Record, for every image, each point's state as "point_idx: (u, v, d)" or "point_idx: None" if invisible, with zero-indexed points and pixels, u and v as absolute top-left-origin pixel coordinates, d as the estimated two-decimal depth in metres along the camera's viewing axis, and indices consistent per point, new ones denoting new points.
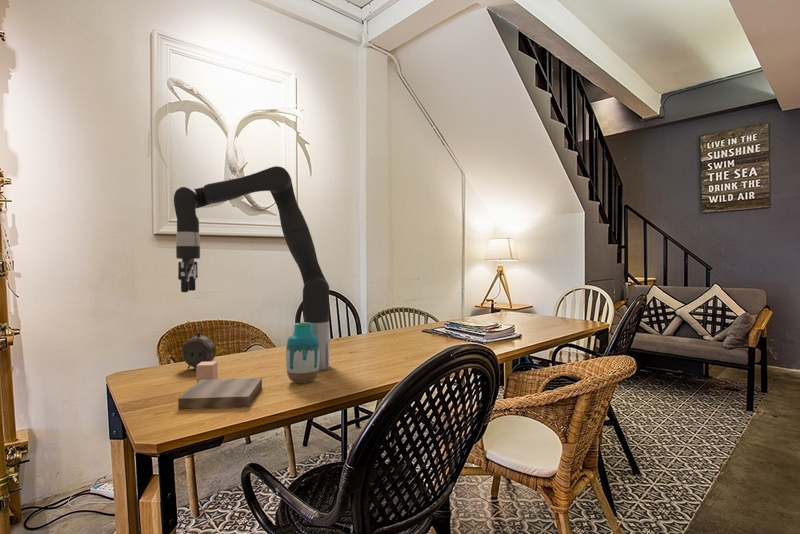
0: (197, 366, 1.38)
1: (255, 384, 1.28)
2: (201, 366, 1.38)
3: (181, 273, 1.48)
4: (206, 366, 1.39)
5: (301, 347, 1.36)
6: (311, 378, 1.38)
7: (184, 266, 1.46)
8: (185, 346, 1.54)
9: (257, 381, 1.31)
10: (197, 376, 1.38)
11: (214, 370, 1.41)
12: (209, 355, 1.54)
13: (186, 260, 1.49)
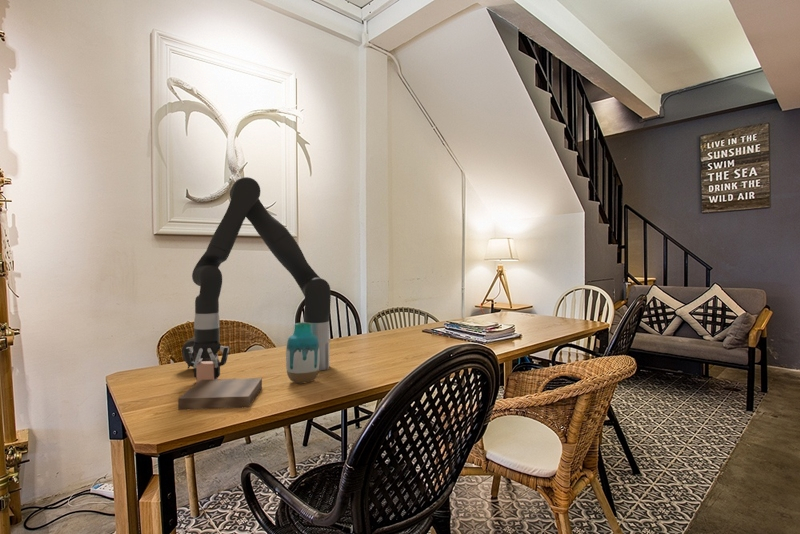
0: (197, 366, 1.38)
1: (255, 384, 1.28)
2: (201, 366, 1.38)
3: (215, 359, 1.40)
4: (206, 366, 1.39)
5: (301, 347, 1.36)
6: (311, 378, 1.38)
7: (228, 351, 1.42)
8: (185, 346, 1.54)
9: (257, 381, 1.31)
10: (197, 376, 1.38)
11: None
12: None
13: (219, 342, 1.42)
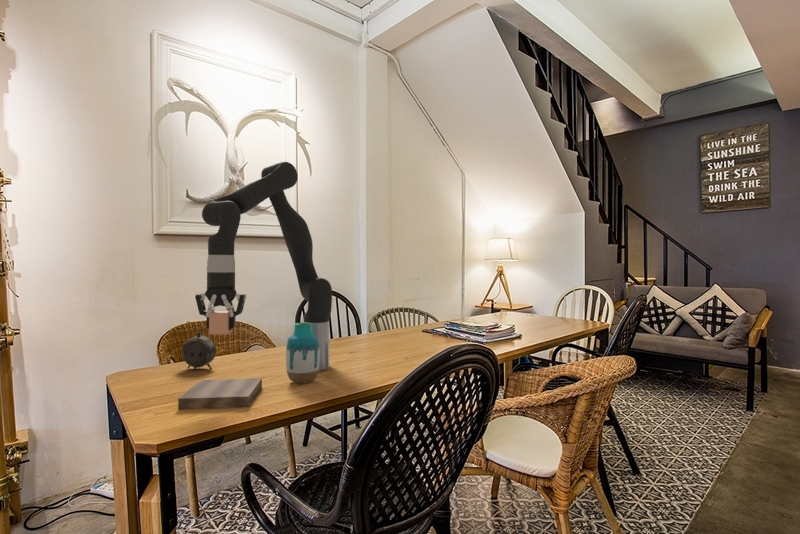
0: (210, 314, 1.22)
1: (255, 384, 1.28)
2: (214, 314, 1.22)
3: (230, 307, 1.24)
4: (220, 314, 1.23)
5: (301, 347, 1.36)
6: (311, 378, 1.38)
7: (244, 299, 1.26)
8: (185, 346, 1.54)
9: (257, 381, 1.31)
10: (210, 325, 1.22)
11: None
12: (209, 355, 1.54)
13: None
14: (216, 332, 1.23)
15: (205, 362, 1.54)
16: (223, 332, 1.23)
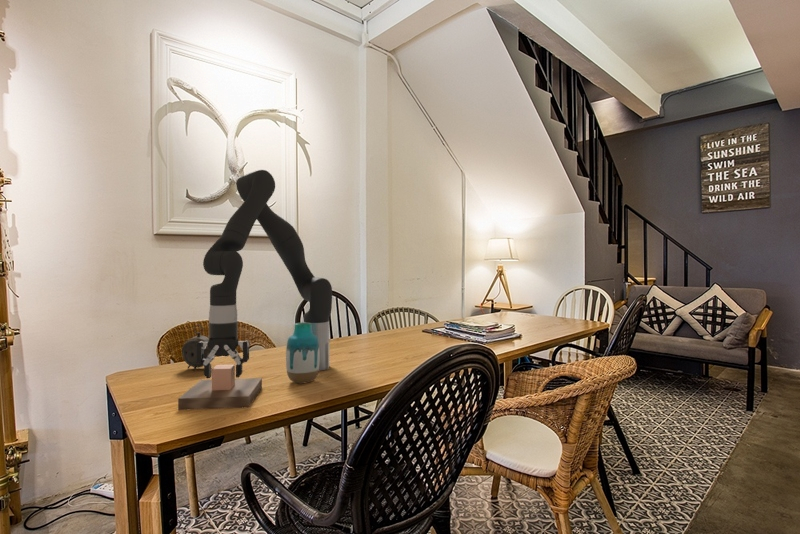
0: (213, 370, 1.22)
1: (255, 384, 1.28)
2: (217, 370, 1.22)
3: (236, 355, 1.24)
4: (223, 370, 1.22)
5: (301, 347, 1.36)
6: (311, 378, 1.38)
7: (248, 345, 1.26)
8: (185, 346, 1.54)
9: (257, 381, 1.31)
10: (213, 381, 1.22)
11: (232, 374, 1.24)
12: None
13: (237, 338, 1.25)
14: (219, 388, 1.22)
15: None
16: (226, 388, 1.22)
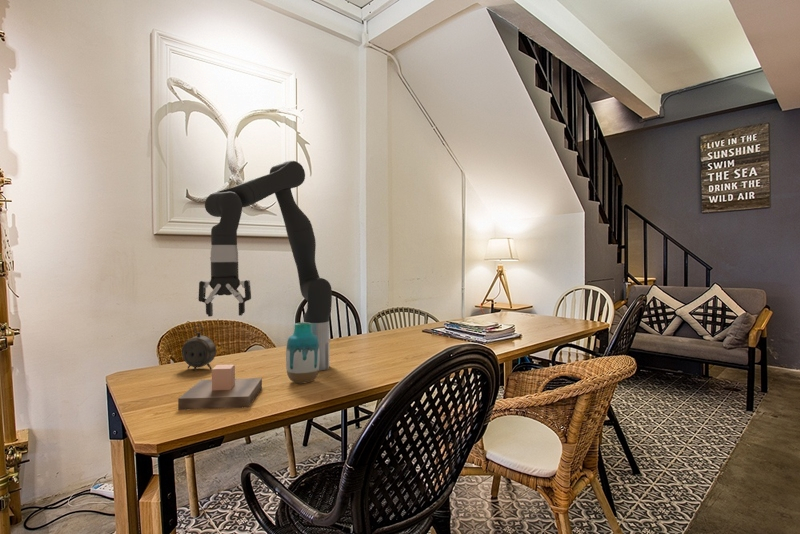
0: (213, 370, 1.22)
1: (255, 384, 1.28)
2: (217, 370, 1.22)
3: (238, 294, 1.27)
4: (223, 370, 1.22)
5: (301, 347, 1.36)
6: (311, 378, 1.38)
7: (249, 285, 1.29)
8: (185, 346, 1.54)
9: (257, 381, 1.31)
10: (213, 381, 1.22)
11: (232, 374, 1.24)
12: (209, 355, 1.54)
13: (238, 278, 1.28)
14: (219, 388, 1.22)
15: (205, 362, 1.54)
16: (226, 388, 1.22)
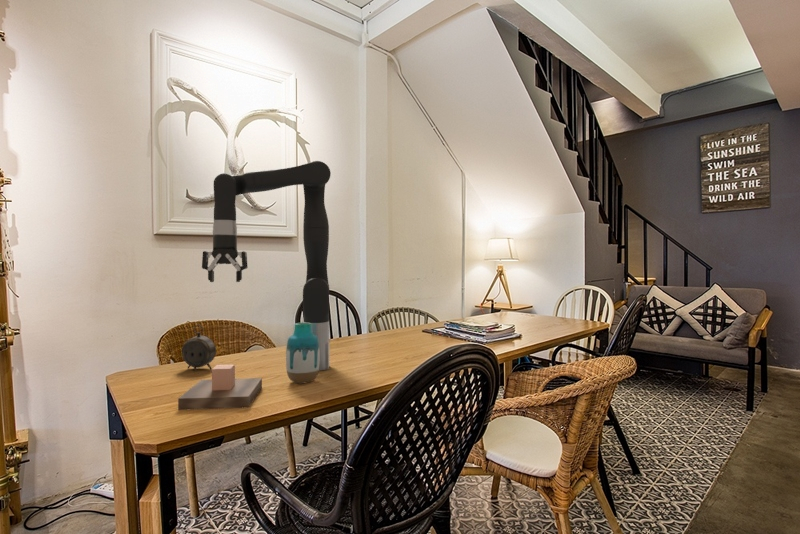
0: (213, 370, 1.22)
1: (255, 384, 1.28)
2: (217, 370, 1.22)
3: (236, 263, 1.46)
4: (223, 370, 1.22)
5: (301, 347, 1.36)
6: (311, 378, 1.38)
7: (246, 256, 1.48)
8: (185, 346, 1.54)
9: (257, 381, 1.31)
10: (213, 381, 1.22)
11: (232, 374, 1.24)
12: (209, 355, 1.54)
13: (236, 250, 1.48)
14: (219, 388, 1.22)
15: (205, 362, 1.54)
16: (226, 388, 1.22)
